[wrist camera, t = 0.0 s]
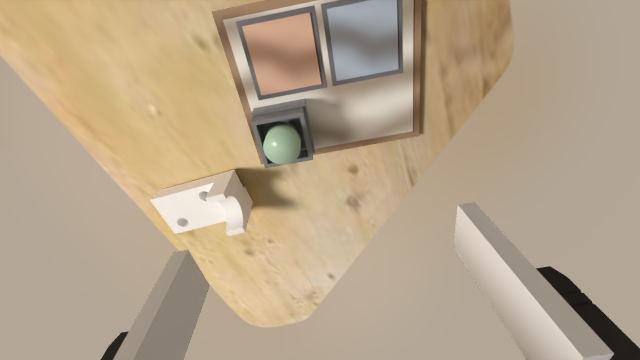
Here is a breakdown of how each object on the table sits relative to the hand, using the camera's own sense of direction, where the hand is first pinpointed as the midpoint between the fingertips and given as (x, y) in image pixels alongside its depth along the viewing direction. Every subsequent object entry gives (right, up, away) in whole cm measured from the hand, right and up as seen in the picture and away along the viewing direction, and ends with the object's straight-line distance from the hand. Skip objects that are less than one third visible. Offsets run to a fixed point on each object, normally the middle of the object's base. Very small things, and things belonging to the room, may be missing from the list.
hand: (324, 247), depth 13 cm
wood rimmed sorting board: (+1, +17, +23) cm, 28 cm away
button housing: (-5, +11, +26) cm, 28 cm away
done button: (-5, +9, +21) cm, 24 cm away
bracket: (-19, +1, +32) cm, 37 cm away
